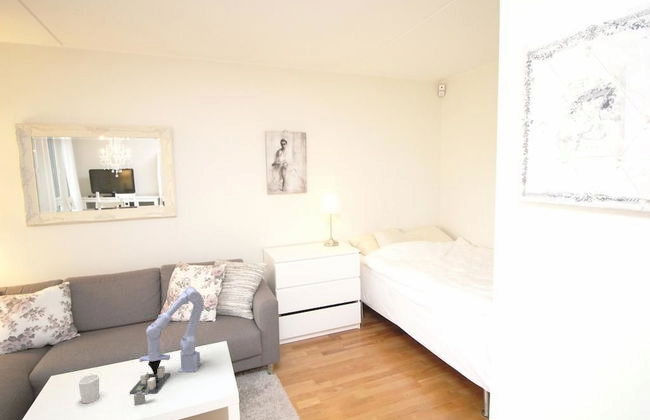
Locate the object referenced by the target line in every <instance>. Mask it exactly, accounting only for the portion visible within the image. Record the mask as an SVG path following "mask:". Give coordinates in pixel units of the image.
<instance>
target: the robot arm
mask: <svg viewBox="0 0 650 420" xmlns="http://www.w3.org/2000/svg"><path fill="white" fill-rule="evenodd" d="M202 296H203V295H202V294H201V293H200V292H199V291H198V290H197V289H196V288H195V287H193V286H188V287H186V288H185V289H184V291H181V293H180V295H179V297H178V298H176V300H175V302H173V304H171V306H170V307H169V308H168V310H167V311H165V312H162V313H161V314H158V315H157V319H156V320H154V322H152V323H150V325H148V327H146V330H145V334H146V336H147V355H144V356H140V357H139V363H142V362H148V363H147V364H148V366H149V367H150V368H151V371H152V372H153V373H152V374H154V375H156V374H157V369H158V368H159V367H160V364H161V362H162V361H165V360H166V361H169V360H170V359H171V354H164V353H161V339H160V336H161V333H162V332H161V331H163V329H165V327H166V326H167V325H168V324H169V323H170V322H171V321H172V317H173V315H174V314H175V313H176V312H177V311H178V310H180V308H181V307H182V306H183V305H189V304H190V303H191V304H192V305H193V307H192V309H191V312H190V313H191V314H190V317H189V321H188V324H187V327H186V330H185V334H183V336H182V338H181V340H180V341H179V343H178V345H179V348H180V349H181V350H180V368H179V369H178V373H184V372H186V373H187V372H196V371H197V370H198V369H199V368H200V366H201V365H202V364H201V353H200V352H199V351H198V350H197V351H196V333H197V331H198V326H199V323H200V321H201V320H200V319H201V316H202V313H203V308H204V305H205V303H204V300H203V297H202Z"/></svg>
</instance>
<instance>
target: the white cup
mask: <svg viewBox="0 0 650 420" xmlns="http://www.w3.org/2000/svg"><path fill="white" fill-rule="evenodd" d="M78 388H79V393H80V399H81V402H82V403H83V404H89V403H90V404H91V403H93V402H95V401H96V400H97V399H99V397H100V375H99V374H96V373H93V374H89V375H86V376H84V377H82V378H80V379H79V380H78Z"/></svg>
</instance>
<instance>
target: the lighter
mask: <svg viewBox="0 0 650 420" xmlns="http://www.w3.org/2000/svg"><path fill="white" fill-rule="evenodd" d="M150 387H151V385H149V384H148V386H147V388H146V390H145V393H142V391H141V392H137V393H136V394H133V402H134V406H137V405H143V404H146V403H145V402H146V396H147V395H149V394H148V391H149V389H150Z"/></svg>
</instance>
